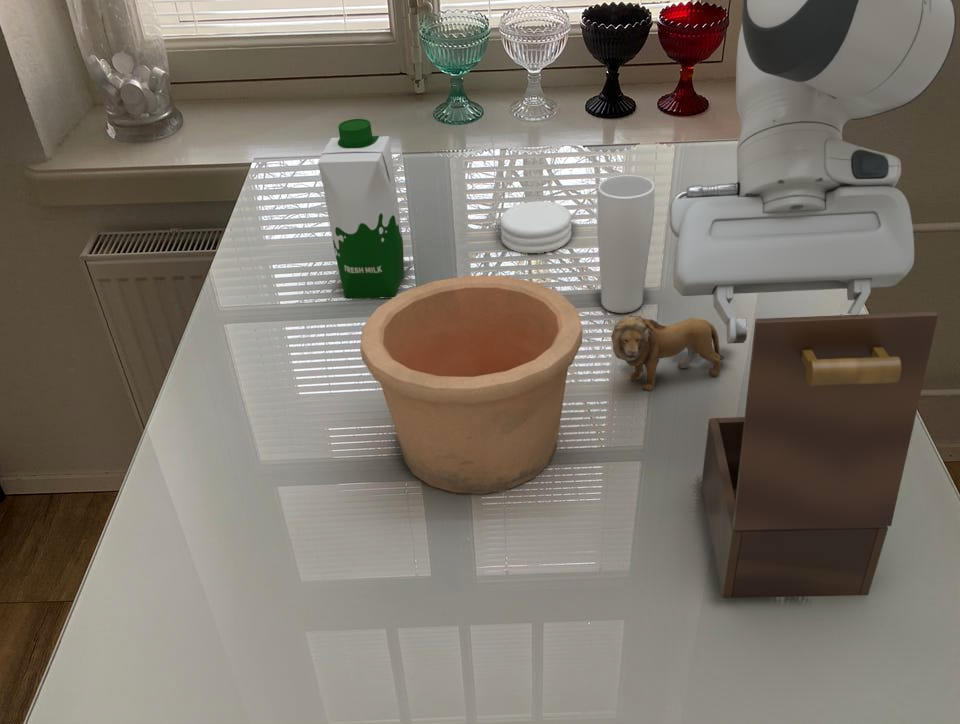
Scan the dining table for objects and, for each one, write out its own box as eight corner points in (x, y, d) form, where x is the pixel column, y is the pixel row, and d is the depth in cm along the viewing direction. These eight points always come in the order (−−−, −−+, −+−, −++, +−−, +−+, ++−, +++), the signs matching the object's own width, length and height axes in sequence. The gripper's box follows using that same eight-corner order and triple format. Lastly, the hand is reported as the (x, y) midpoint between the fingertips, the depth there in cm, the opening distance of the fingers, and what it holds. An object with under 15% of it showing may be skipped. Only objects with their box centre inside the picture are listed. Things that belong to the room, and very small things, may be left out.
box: (700, 491, 100) (709, 417, 94) (828, 488, 99) (845, 413, 93) (721, 607, 89) (732, 532, 82) (865, 604, 88) (888, 528, 81)
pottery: (367, 411, 114) (347, 294, 104) (552, 378, 116) (550, 260, 106) (395, 528, 99) (374, 405, 89) (606, 488, 101) (610, 364, 91)
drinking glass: (643, 320, 124) (650, 199, 113) (590, 315, 126) (591, 196, 115) (652, 294, 128) (659, 175, 117) (600, 290, 130) (603, 172, 119)
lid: (755, 318, 72) (767, 345, 68) (935, 311, 71) (958, 337, 67) (732, 525, 82) (742, 559, 78) (888, 521, 81) (906, 555, 77)
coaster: (549, 260, 137) (549, 235, 134) (488, 247, 141) (486, 223, 138) (583, 231, 142) (583, 206, 140) (523, 219, 146) (522, 195, 144)
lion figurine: (622, 406, 111) (625, 333, 105) (600, 383, 115) (602, 312, 108) (735, 371, 115) (745, 299, 108) (710, 350, 118) (718, 279, 111)
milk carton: (411, 270, 138) (392, 116, 123) (400, 302, 131) (379, 144, 117) (350, 271, 139) (324, 118, 124) (336, 302, 132) (307, 146, 118)
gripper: (673, 171, 84) (676, 334, 85) (920, 157, 83) (922, 324, 83) (665, 202, 91) (667, 353, 91) (894, 189, 89) (896, 344, 90)
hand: (791, 339), depth 87 cm, fingers open, 8 cm apart
